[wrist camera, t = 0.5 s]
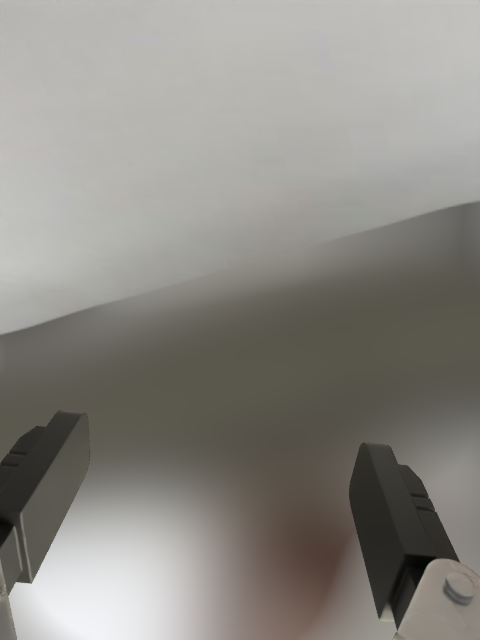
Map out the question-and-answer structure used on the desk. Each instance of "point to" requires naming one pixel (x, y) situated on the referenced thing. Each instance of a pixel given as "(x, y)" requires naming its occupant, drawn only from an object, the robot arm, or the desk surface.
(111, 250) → the desk surface
